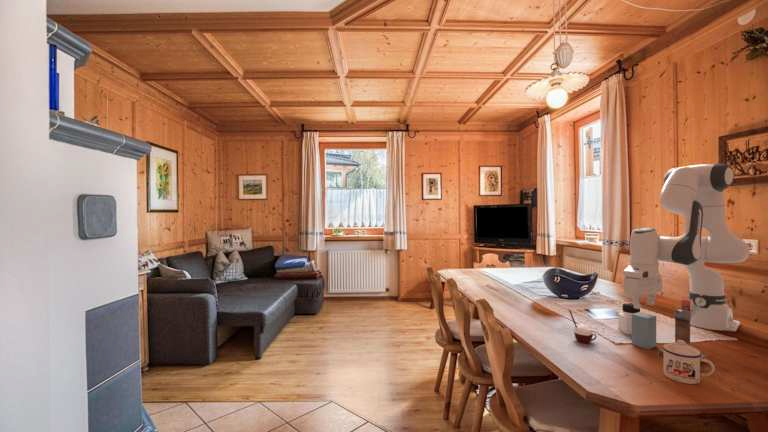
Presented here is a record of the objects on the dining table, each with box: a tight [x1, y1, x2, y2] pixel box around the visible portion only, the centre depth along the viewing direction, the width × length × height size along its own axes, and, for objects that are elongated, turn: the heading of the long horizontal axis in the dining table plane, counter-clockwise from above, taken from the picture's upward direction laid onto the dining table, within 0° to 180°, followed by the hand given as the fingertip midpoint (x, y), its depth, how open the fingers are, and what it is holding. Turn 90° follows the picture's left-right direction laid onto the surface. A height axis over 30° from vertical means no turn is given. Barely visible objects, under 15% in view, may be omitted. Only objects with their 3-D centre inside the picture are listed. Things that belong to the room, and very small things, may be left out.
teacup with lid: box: [662, 340, 716, 385], centre depth 106 cm, size 12×9×12 cm
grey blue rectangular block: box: [631, 311, 657, 350], centre depth 132 cm, size 6×6×12 cm
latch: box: [673, 297, 699, 321], centre depth 125 cm, size 4×18×6 cm, turn 127°
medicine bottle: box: [617, 302, 641, 335], centre depth 145 cm, size 7×7×12 cm
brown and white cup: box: [568, 309, 598, 344], centre depth 137 cm, size 10×6×12 cm, turn 46°
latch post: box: [658, 318, 708, 364], centre depth 121 cm, size 10×10×13 cm
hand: (643, 306), depth 131 cm, fingers open, 8 cm apart
